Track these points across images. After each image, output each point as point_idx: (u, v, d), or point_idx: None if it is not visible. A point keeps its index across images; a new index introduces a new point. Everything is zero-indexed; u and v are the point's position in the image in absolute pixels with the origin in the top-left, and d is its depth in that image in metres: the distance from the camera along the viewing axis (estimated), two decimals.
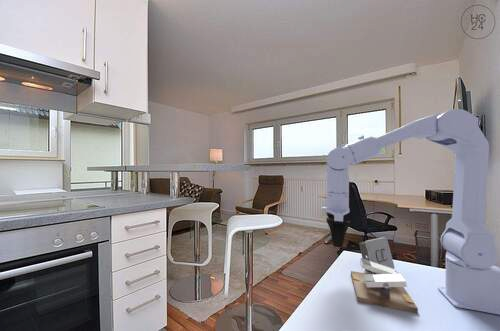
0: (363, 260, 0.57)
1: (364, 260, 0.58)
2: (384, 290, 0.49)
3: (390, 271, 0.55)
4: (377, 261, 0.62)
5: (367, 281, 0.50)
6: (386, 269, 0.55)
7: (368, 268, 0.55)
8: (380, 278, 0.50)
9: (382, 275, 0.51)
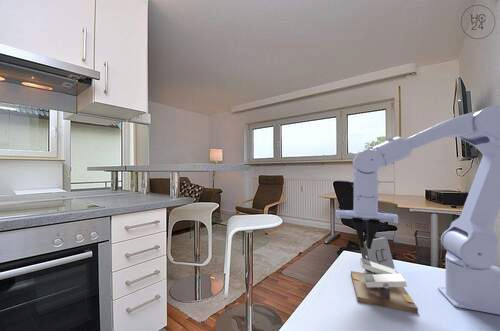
0: (363, 260, 0.57)
1: (364, 260, 0.58)
2: (384, 290, 0.49)
3: (390, 271, 0.55)
4: (377, 261, 0.62)
5: (367, 281, 0.50)
6: (386, 269, 0.55)
7: (368, 268, 0.55)
8: (380, 278, 0.50)
9: (382, 275, 0.51)
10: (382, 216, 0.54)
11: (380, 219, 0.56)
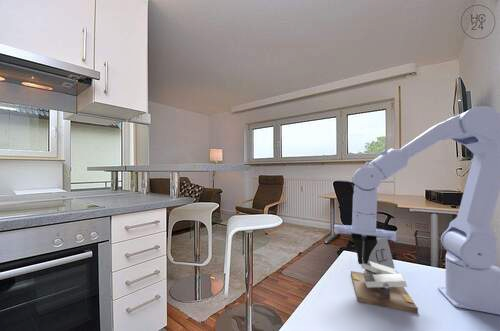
0: None
1: None
2: (384, 290, 0.49)
3: (390, 271, 0.55)
4: (377, 261, 0.62)
5: (367, 281, 0.50)
6: (386, 269, 0.55)
7: (368, 268, 0.55)
8: (380, 278, 0.50)
9: (382, 275, 0.51)
10: (380, 233, 0.54)
11: (378, 236, 0.56)
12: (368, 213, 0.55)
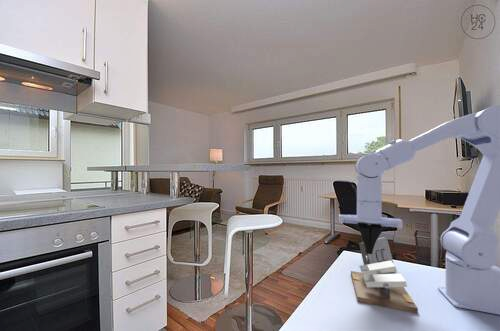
0: (361, 267, 0.58)
1: (362, 267, 0.58)
2: (384, 290, 0.49)
3: (387, 265, 0.55)
4: (377, 261, 0.62)
5: (367, 281, 0.50)
6: (384, 265, 0.55)
7: (368, 273, 0.55)
8: (380, 278, 0.50)
9: (382, 275, 0.51)
10: (386, 221, 0.53)
11: (384, 224, 0.55)
12: (373, 201, 0.54)
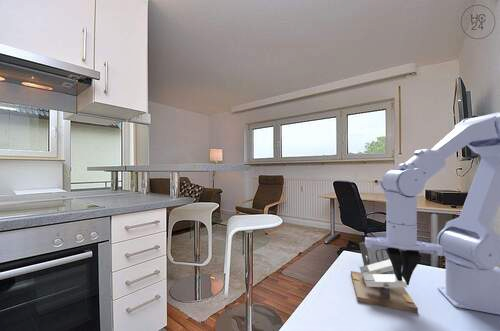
0: (361, 269, 0.58)
1: (362, 268, 0.58)
2: (384, 290, 0.49)
3: (387, 264, 0.55)
4: (377, 261, 0.62)
5: (367, 280, 0.50)
6: (383, 264, 0.55)
7: None
8: (380, 278, 0.50)
9: (382, 275, 0.51)
10: (423, 247, 0.46)
11: (420, 250, 0.48)
12: (413, 224, 0.47)
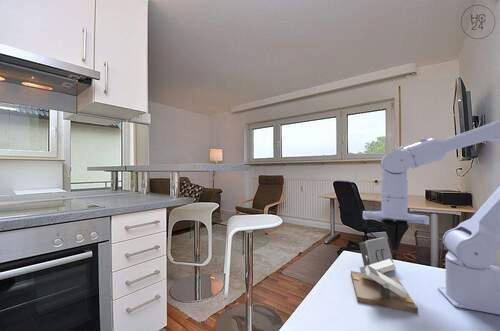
0: (361, 269, 0.58)
1: (362, 268, 0.58)
2: (384, 290, 0.49)
3: (386, 264, 0.55)
4: (377, 261, 0.62)
5: (371, 272, 0.50)
6: (383, 264, 0.55)
7: None
8: (383, 277, 0.50)
9: (385, 276, 0.51)
10: (413, 217, 0.53)
11: (410, 220, 0.55)
12: (398, 197, 0.54)
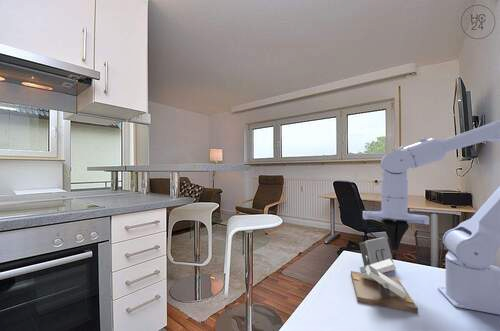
0: (361, 269, 0.58)
1: (362, 268, 0.58)
2: (384, 290, 0.49)
3: (386, 264, 0.55)
4: (377, 261, 0.62)
5: (372, 271, 0.50)
6: (383, 264, 0.55)
7: None
8: (384, 277, 0.50)
9: (385, 276, 0.51)
10: (413, 217, 0.54)
11: (410, 220, 0.55)
12: (398, 197, 0.54)
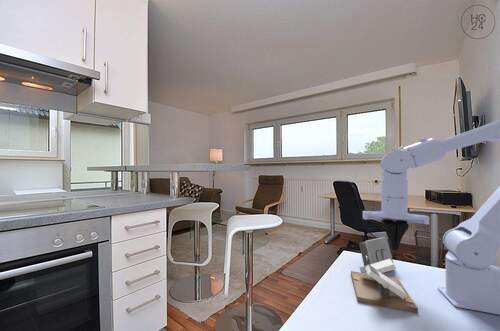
0: (361, 269, 0.58)
1: (362, 268, 0.58)
2: (384, 290, 0.49)
3: (386, 264, 0.55)
4: (377, 261, 0.62)
5: (372, 271, 0.49)
6: (383, 264, 0.55)
7: None
8: (384, 277, 0.50)
9: (385, 276, 0.51)
10: (413, 217, 0.54)
11: (410, 220, 0.55)
12: (398, 197, 0.54)
